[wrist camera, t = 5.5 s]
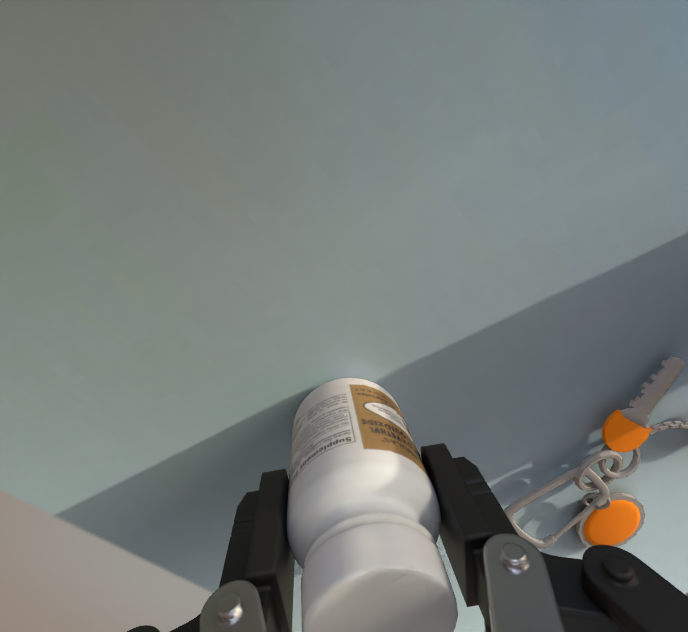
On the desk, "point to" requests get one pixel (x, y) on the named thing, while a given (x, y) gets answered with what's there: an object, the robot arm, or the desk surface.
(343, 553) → the pill bottle
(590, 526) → the key chain
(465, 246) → the desk surface
